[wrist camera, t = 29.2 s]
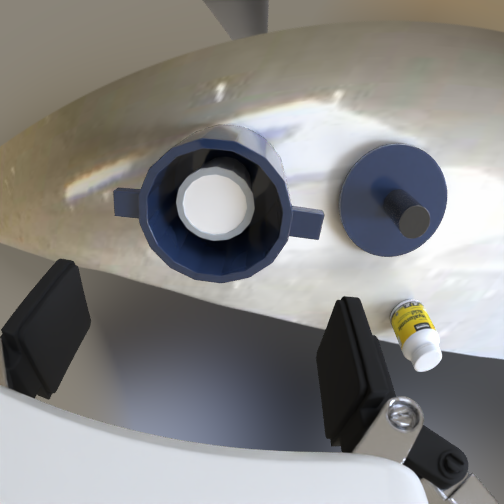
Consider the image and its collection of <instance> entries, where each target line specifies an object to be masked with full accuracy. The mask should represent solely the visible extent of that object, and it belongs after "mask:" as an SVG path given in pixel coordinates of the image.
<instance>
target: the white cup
mask: <svg viewBox="0 0 504 504" xmlns="http://www.w3.org/2000/svg"><path fill="white" fill-rule="evenodd" d="M176 205H177V210H178V214H179V217H180V219H181V220H182V222H183V223H184V225H185V226H186V228H187V229H189V230H190V231H191V232H193V233H194V234H196V235H197V236H199V237H201V238H205V239H209V240H212V241H217V240H228V239H230V238H232V237H234V236H236V235H238V234H241V233H242V232H243V230H244V229H245V228H246V227H247V226H248V225H249V224H250V222H251V219H252V216H253V213H254V210H255V207H254V199H253V191H252V185H251V179H250V174H249V172H248V170H247V169H246V167H245V165H243V164H242V163H241V162H239V161H238V160H237V159H234V158H230V157H226V156H225V157H217V158H214V159H212V160H210V161H209V162H207V163H205V164H204V165H203V166H201V167H200V168H198V169H197V170H196V171H194V172H193V173H192V174H190V175H189V176H187V178H186V179H185V181H184V182H183V183H182V185H181V186H180V187H179V190H178V195H177V200H176Z"/></svg>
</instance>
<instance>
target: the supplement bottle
mask: <svg viewBox="0 0 504 504" xmlns="http://www.w3.org/2000/svg"><path fill="white" fill-rule="evenodd" d="M390 320H391V324H392V327H393V329H394V332H395V334H396V337H397V339H398V342H399V344H400V346H401V350H402V352H403V354H404V356H405V357H406V358H407V359H408V360H411V361H412V363H413V366H414V368H415V369H416V370H417V371H419V372H422V371H427V370H430V369H432V368H433V367H435V366H436V365H437V364H438V363H439V362H440V360H441V358H442V353H441V351H440V348H439V346H438V345H439V335H438V333H437V331H436V329H435V327H434V325H433V323H432V321H431V320H430V318H429V316H428V314H427V312H426V310H425V308H424V307H423V305H422V304H421V303H420V302H419V301H417V300H414V299H410V300H406V301H403V302H401V303H400V304H398V305H397V306H396V307H395V308H394V309H393V311H392V313H391V317H390Z"/></svg>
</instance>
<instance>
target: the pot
mask: <svg viewBox="0 0 504 504" xmlns="http://www.w3.org/2000/svg"><path fill="white" fill-rule="evenodd" d="M225 156H226V157H230V158H234V159H237V160H238V161H239V162H241V163H242V164H243V165H245V167H246V169H247V170H248V172H249V174H250V179H251V185H252V191H253V199H254V207H255V210H254V213H253V216H252V219H251V222H250V224H249V225H248V226H247V227H246V228H245V229H244V230H243V232H242V233H241V234H238V235H236V236H234V237H232V238H230V239H228V240H217V241H212V240H209V239H205V238H201V237H199V236H197V235H196V234H194V233H193V232H191V231H190V230H189V229H187V228H186V226H185V225H184V223H183V222H182V220H181V219H180V217H179V214H178V210H177V205H176V200H177V195H178V190H179V187H180V186H181V185H182V183H183V182H184V181H185V179H186V178H187V176H189V175H190V174H192V173H193V172H194V171H196V170H197V169H198V168H200V167H201V166H203V165H204V164H205V163H207V162H209V161H210V160H212V159H214V158H217V157H225ZM113 195H114V212H115V216H121V217H130V218H139V223H140V226H141V228H142V230H143V232H144V235H145V237H146V239H147V241H148V243H149V246H150V247H151V249H152V250H153V251H154V252H155V253H156V254H157V255H158V256H159V257H160V258H161V259H162V260H163V261H164V262H165V263H166V264H167V265H168V266H169V267H170V268H172V269H174V270H176V271H178V272H180V273H182V274H184V275H186V276H188V277H190V278H192V279H194V280H200V281H208V282H216V283H225V282H230V281H235V280H240V279H245V278H249V277H251V276H252V275H254V274H256V273H257V272H259V271H260V270H262V269H263V268H265V267H267V266H268V265H270V264H271V263H273V261H274V260H275V258H276V257H277V256H278V254H279V253H280V251H281V250H282V248H283V247H284V245H285V244H286V243H287V241H288V238H289V236H293V237H300V238H308V239H315V240H319V236H320V232H321V228H322V223H323V219H324V213H323V211H322V210H317V209H310V208H303V207H296V206H292V204H291V199H290V194H289V189H288V185H287V180H286V176H285V172H284V168H283V165H282V161H281V158H280V156H279V155H278V154H277V152H276V151H275V149H274V148H273V147H272V146H271V144H270V143H269V142H268V141H267V140H266V139H265V138H263V137H262V136H260V135H259V134H257V133H256V132H254V131H251V130H249V129H247V128H245V127H241V126H235V125H220V124H219V125H215V126H212V127H208V128H205V129H203V130H199V131H196V132H195V133H193V134H192V135H190V136H189V137H187V138H186V139H184V140H183V141H181V142H180V143H178V144H177V145H175V146H174V147H172V148H171V149H170V150H169V151H168V152H166V153H165V154H164V155H163V156H162V157H161V158H160V159H159V160H158V161H157V162H156V163H155V164H154V165H153V166H151V167H150V169H149V170H148V173H147V175H146V177H145V180H144V182H143V185H142V187H141V189H130V188H117V189H115V190H114V191H113Z"/></svg>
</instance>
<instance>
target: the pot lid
mask: <svg viewBox="0 0 504 504" xmlns="http://www.w3.org/2000/svg"><path fill="white" fill-rule="evenodd" d="M446 204H447V186H446V182H445V178H444V175H443V173H442V171H441V169H440V167H439V166H438V164H437V163H436V161H435V160H434V159H433V158H432V157H431V156H430V155H428V154H427V153H426V152H424V151H422V150H421V149H419V148H417V147H414V146H411V145H407V144H397V143H396V144H388V145H384V146H380V147H378V148H375V149H373V150H371V151H370V152H368V153H367V154H365V155H364V156H363V157H361V158H360V159H359V160H358V161H357V162H356V163H355V164H354V166H353V167H352V168H351V170H350V171H349V173H348V174H347V176H346V178H345V181H344V183H343V185H342V189H341V193H340V199H339V211H340V217H341V221H342V224H343V226H344V229H345V231H346V233H347V234H348V236H349V237H350V239H351V240H352V241H353V242H354V243H355V244H356V245H357V246H358V247H360V248H361V249H362V250H364V251H366V252H368V253H370V254H373V255H377V256H384V257H392V256H399V255H403V254H406V253H409V252H411V251H413V250H415V249H417V248H418V247H420V246H421V245H422V244H424V243H425V242H426V241H427V240H428V239H429V238H430V237H431V236H432V235H433V234H434V232H435V231H436V229H437V228H438V226H439V225H440V223H441V221H442V218H443V216H444V213H445V209H446Z"/></svg>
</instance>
